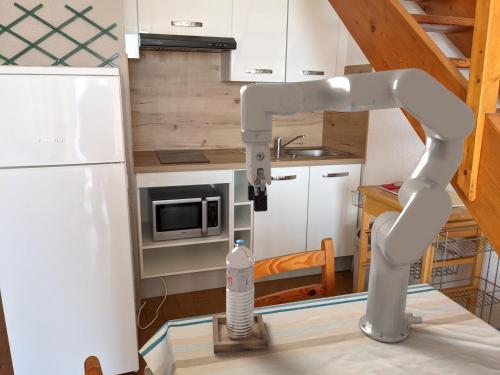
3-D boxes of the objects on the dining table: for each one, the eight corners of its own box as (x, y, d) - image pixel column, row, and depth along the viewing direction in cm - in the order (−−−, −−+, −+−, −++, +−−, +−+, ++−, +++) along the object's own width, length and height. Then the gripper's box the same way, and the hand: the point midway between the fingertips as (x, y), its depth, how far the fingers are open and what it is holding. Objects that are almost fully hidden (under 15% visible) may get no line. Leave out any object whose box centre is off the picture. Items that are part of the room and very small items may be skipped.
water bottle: (250, 343, 104) (251, 247, 98) (223, 339, 106) (222, 245, 99) (256, 327, 111) (257, 237, 104) (230, 324, 112) (230, 234, 106)
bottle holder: (261, 321, 116) (261, 313, 115) (268, 350, 103) (268, 342, 103) (212, 323, 114) (212, 315, 114) (213, 353, 102) (213, 344, 101)
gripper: (279, 141, 96) (279, 215, 100) (265, 132, 112) (265, 195, 116) (246, 142, 95) (247, 216, 99) (237, 133, 111) (238, 197, 115)
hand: (257, 205), depth 107 cm, fingers open, 9 cm apart
